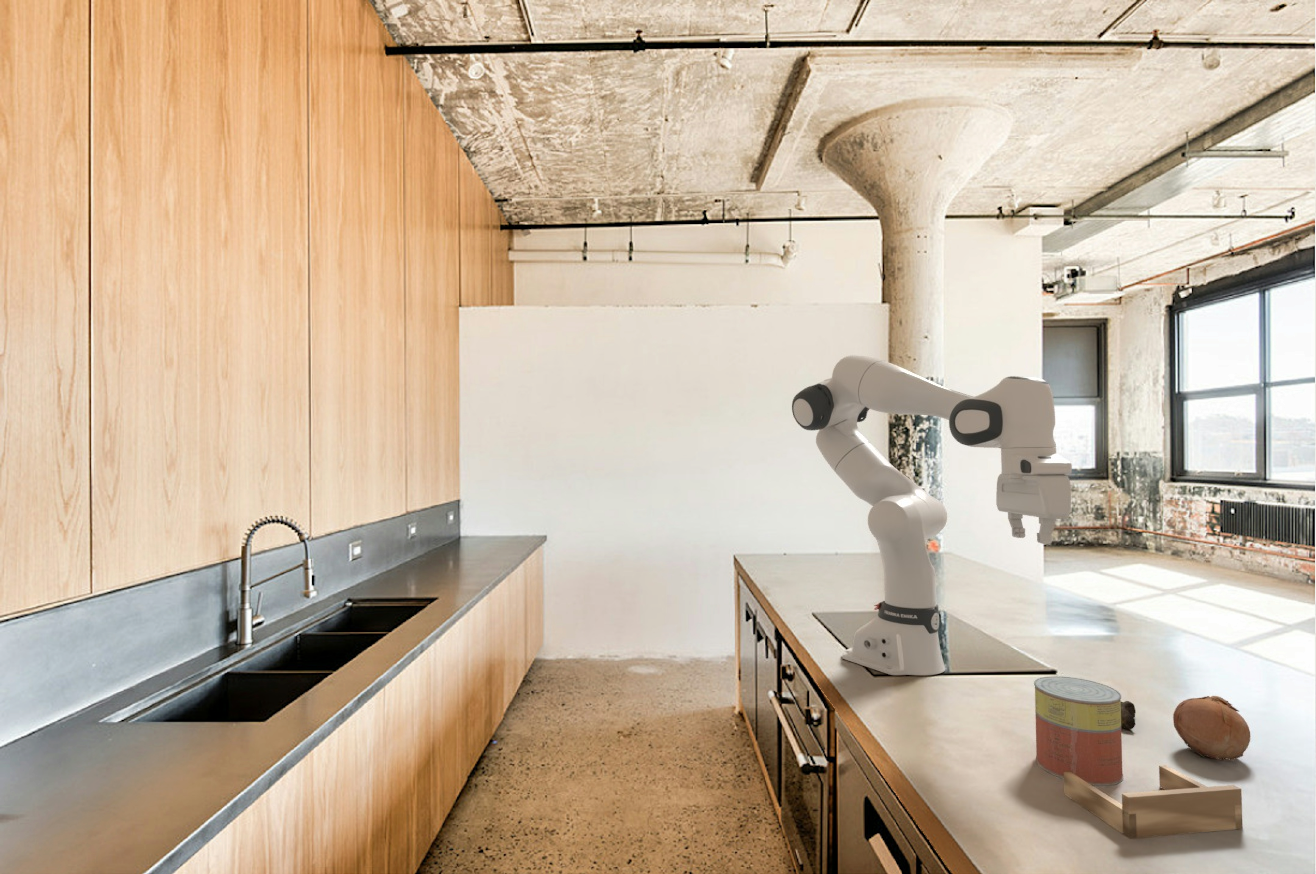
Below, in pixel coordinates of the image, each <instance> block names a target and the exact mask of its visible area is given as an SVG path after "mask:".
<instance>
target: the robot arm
mask: <svg viewBox="0 0 1316 874" xmlns="http://www.w3.org/2000/svg"><path fill="white" fill-rule="evenodd" d="M869 410H872V411H876V412H880V413H883V414H892V415H906V416H907V415H911V416H912V415H916V416H929V417H930V416H932V417H937V418H940V419H944V420H946V421H947V420H948V427H949V431H950V433H951V435H952V437H953V438H954V440H955V441H956V442H958V443H959V444H962V445H963V446H967V447H971V448H984V449H985V448H988V449H990V448H991V449H992V448H995V449H1000V456H1001V457H1000V458H1001V459H1000V460H1001V461H1000V463H1001V473H1000V474H999V475H998V477H997V481H996V491H995V492H996V498H995V499H996V501H995V502H996V507H997V511H999V512H1002V513H1003V512H1004V513H1007V519H1008V521H1009V524H1010V527H1011V535H1012V537H1013V538H1017V539H1023V538H1025V537H1026V528H1025V527H1024V525H1023V521H1022V520H1023V518H1024V516H1028V517H1034V518H1038V524H1039V532H1036V538H1037V539H1036V542H1037V543H1039V544H1041V545H1042V544H1043V545H1050V544H1052V542H1053V541H1052V540H1053V539H1052V537H1053V535H1052V534H1053V533H1054V529H1055V526H1056V520H1067V519H1068V517H1069V516H1070V512H1071V510H1072V509H1071V508H1072V488H1071V486H1072V484H1071V482H1070V478H1069V476H1070V475H1072V472H1073V465H1072V463H1071V462H1070V461H1069V460H1067V459H1065V458H1064V457H1063V456H1061V455H1060V454H1059V453H1057V445H1056V442H1055V438H1054V430H1055V426H1056V412H1055V402H1054V394H1053V391H1052V388H1051V386H1050V384H1049V382H1047V381H1046V380H1045V379H1043V378H1038V377H1029V376H1028V377H1027V376H1016V375H1014V376H1013V375H1011V376H1007V377H1004V378H1003V379H1001V381H999V382H998V384H996V385H995V386H994V387H992V388H990V389H989V390H987V391H985V392H982V393H981V394H978V395H976V396H972V395H970V394H966V393H962V392H959V391H955V390H953V389H950V388H947V387H944V386H942V385H939V384H937V383H935V382H933V381H930V380H928V379H926V378H924V377H922V376H920V375H918V374H917V373H914V372H912V371H910V370H908V369H906V368H903V367H901V366H899V365H896V364H895V363H891V362H889V361H886V360H882V359H879V358H875V357H869V356H864V355H853V354H852V355H847V356H844V357H843V358H841V359H840V360H839V361H838V362H837V363H836V364H835V366H834V368H833V370H832V373H831V377H830V378H828V379H824V380H823V381H821V382H818V383H816V384H813V385H810V386H807V387H805V388H803V389H802V390H801V391H799V392H797V393H796V394H795V396H794V397H793V399H792V402H791V411H792V415H793V418H794V420H795V421H796V423H797V424H798V426H800V428H802V429H804V430H806V431H817V434H816V436H815V443H816V446H817V449H818V450H819V451H820V453H821V455H822V456H823V458H824V459H825V461H826V462H827V464H828V465H829V467H830V468H831V469H832V470H833V471H834V473H835V474H836V475H837V476H838V477H839V478H840V479H841V480H842V481H843V483H845V485H846V486H847V487H848V489H850V490H851V492H852V493H853V494H854V495H855V496H856V497H857V498H859V499H861V500H862V501H864V502H866V503H867V504H869V505H871V506H872V507H871V508H870V510H869V513H868V515H867V525H868V528H869V531H870V533H871V535H873V537H874V538H875V540H876V543H877V545H878V549H879V553H880V556H881V560H882V566H883V567H882V568H883V578H884V579H883V580H884V581H883V582H884V583H883V584H884V587H883V588H884V600H883V601H881V602H878V604H874V605H873V606H874V610H873V611H878V613H877V616H876V617H874V618H873V619H871V620H870V621H869V622H867V623H866V624H864V625H862V626H861V627H860V628H858V629H856V632H855V633H854V636H853V639H852V640H853V641H852V646H851V647H849V648H847V649H845V650H844V651H843V653H842V659H844V660H846V661H849V662H852V663H855V664H858V665H860V666H864V667H866V668H869V669H872V670H876V671H878V672H881V673H883V674H884V673H885V674H888V675H890V676H906V675H909V676H934V675H938V674H941V673H944V672H945V671H946V670H947V669H946V665H945V663H944V660H943V656H942V651H941V646H940V639H939V632H938V631H939V629H940V628H939V627H940V616H939V611H940V610H939V605H938V604H937V575H936V574H937V573H936V572H937V571H936V569H935V567H934V565H933V564H932V562H931V559H930V556H929V552H928V547H927V540H930V539H932V538H934V537H936V536H937V535H938V534H939V533H940V532H941V531H942V530H943V529H944V527H946V524H947V520H948V513H947V510H946V509H947V508H946V507H945V505H944V504H943V502H941V500H939V499H938V498H936V497H934V496H932V495H931V494H929V493H928V492H927V491H925V490H924V489H923V488H922V487H920V486H919V485H918V484H917V483H915V482H914V481H913V480H912V479H910V478H909V477H908V476H906V475H904V473H902V472H901V471H900V470H898V469H897V468H896V467H895V466H893V464H892V463H890V461H889V460H888V459H886V457H884V455H883V454H882V453H881V452H880V451H879V450H878V448H876V447H875V446H874V445H873V444H872V443H871V441H870V440H868V439H867V437H866V436H864V435H863V434H862V433H861V431H860V429H859V428H858V423H862V422H863V421H865V420H866V418H867V417H868V412H869ZM1068 475H1069V476H1068Z"/></svg>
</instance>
